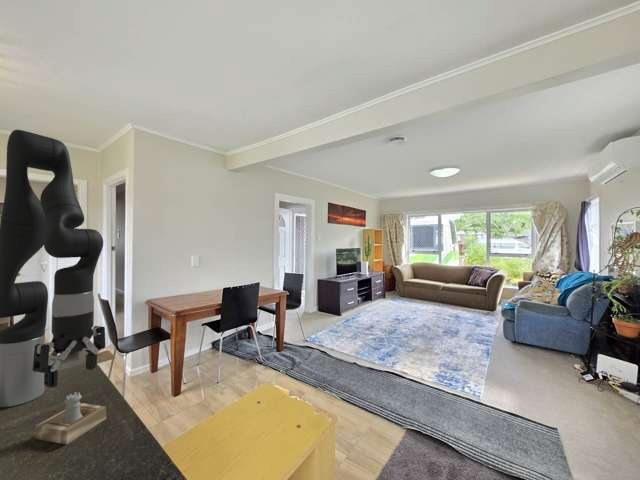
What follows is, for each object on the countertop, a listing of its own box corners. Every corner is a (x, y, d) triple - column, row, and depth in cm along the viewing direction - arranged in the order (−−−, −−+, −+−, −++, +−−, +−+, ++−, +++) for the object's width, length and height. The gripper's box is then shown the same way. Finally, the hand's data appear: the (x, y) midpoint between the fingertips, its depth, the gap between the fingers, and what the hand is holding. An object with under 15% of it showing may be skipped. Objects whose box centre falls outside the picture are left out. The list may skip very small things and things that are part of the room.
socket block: (35, 438, 62) (35, 425, 62) (77, 413, 71) (77, 402, 71) (66, 444, 60) (67, 430, 60) (106, 418, 69) (106, 406, 69)
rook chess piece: (63, 437, 62) (63, 402, 62) (56, 430, 65) (57, 396, 65) (87, 426, 66) (88, 393, 66) (80, 419, 68) (81, 388, 68)
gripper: (91, 302, 73) (90, 362, 73) (24, 317, 59) (23, 391, 59) (114, 304, 72) (113, 365, 72) (51, 320, 58) (49, 396, 58)
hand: (72, 377), depth 65 cm, fingers open, 8 cm apart
